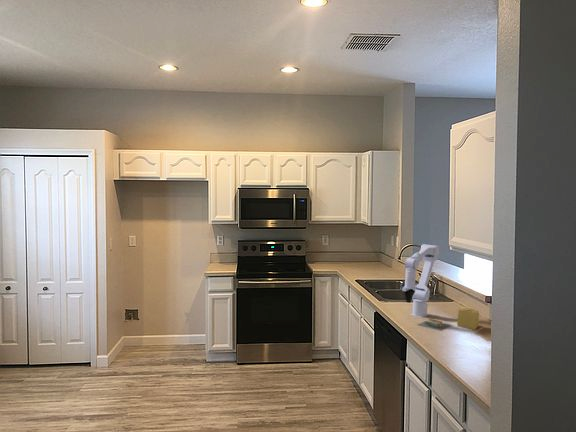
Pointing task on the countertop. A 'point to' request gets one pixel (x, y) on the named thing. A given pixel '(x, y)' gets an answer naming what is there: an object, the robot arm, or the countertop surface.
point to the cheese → (468, 318)
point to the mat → (436, 328)
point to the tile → (433, 323)
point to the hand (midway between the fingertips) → (408, 302)
